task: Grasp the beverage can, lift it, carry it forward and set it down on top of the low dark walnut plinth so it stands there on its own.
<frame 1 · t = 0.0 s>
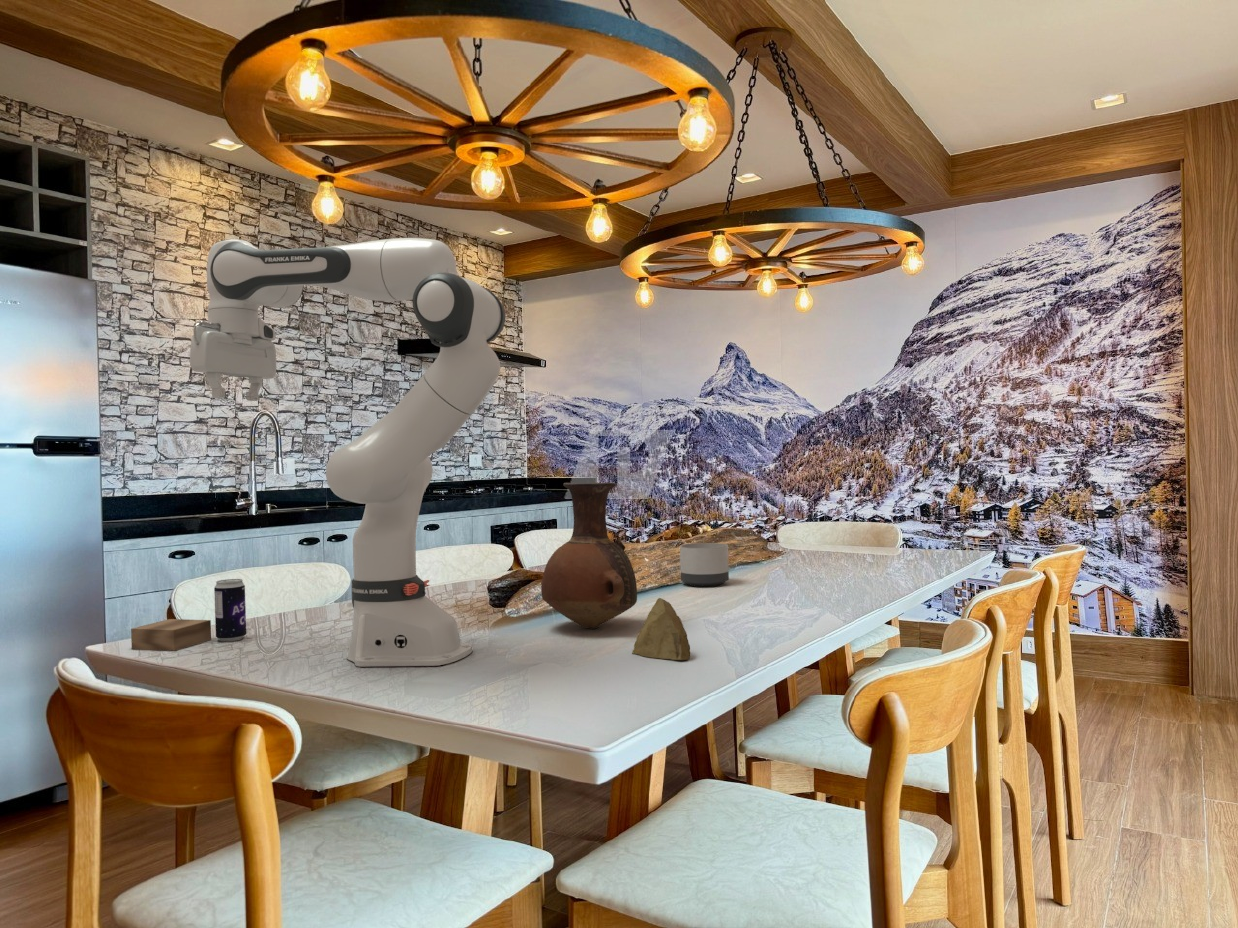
hand: (236, 399, 167), 48 cm above the table, fingers open, 8 cm apart
planter: (704, 585, 234), on the table
rock: (662, 658, 152), on the table
beverage can: (231, 640, 177), on the table
walnut block: (172, 644, 174), on the table
vase: (590, 628, 180), on the table
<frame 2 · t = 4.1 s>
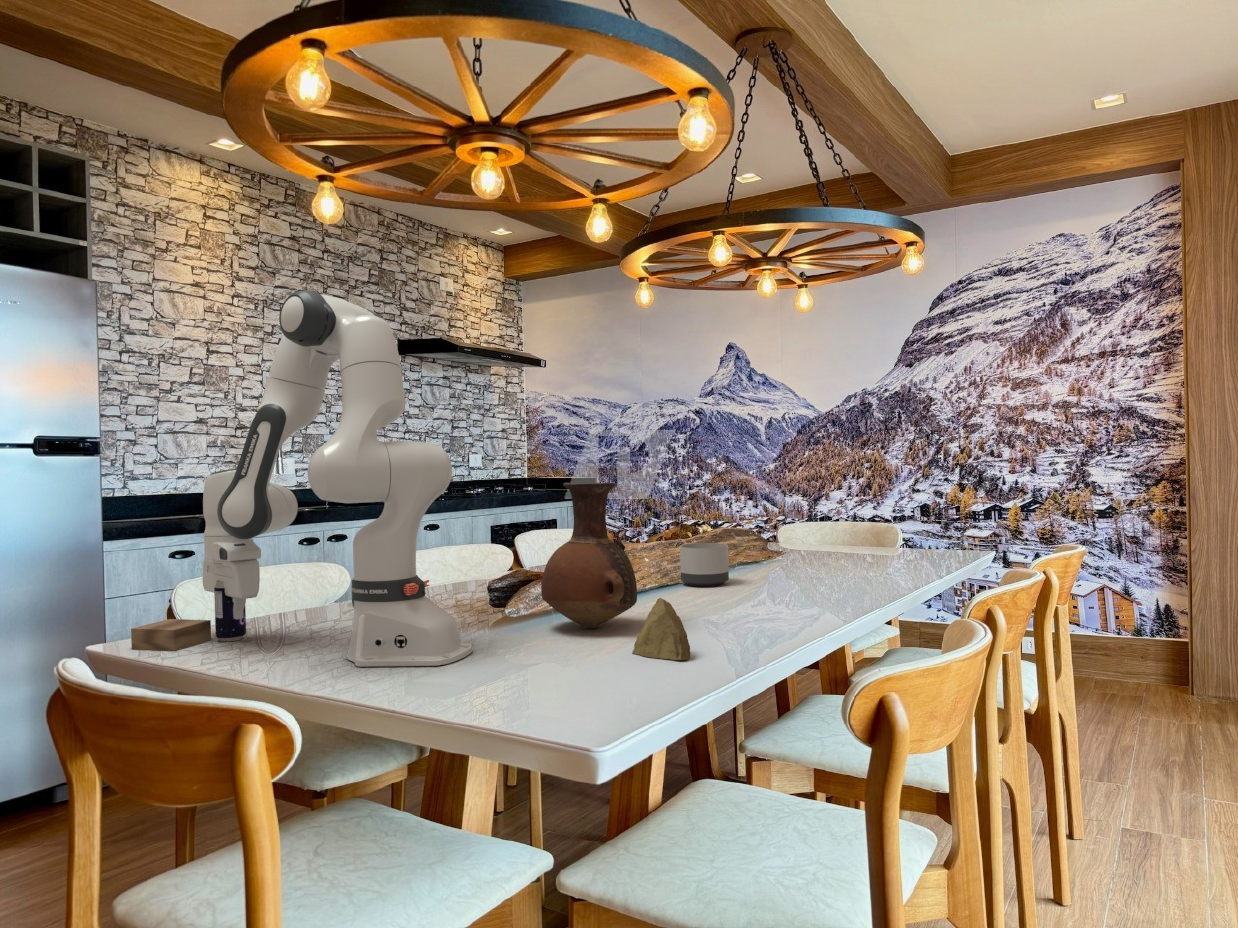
hand: (230, 616, 177), 5 cm above the table, fingers closed on beverage can, 6 cm apart
beverage can: (231, 640, 177), on the table, touching gripper
everything else where it was.
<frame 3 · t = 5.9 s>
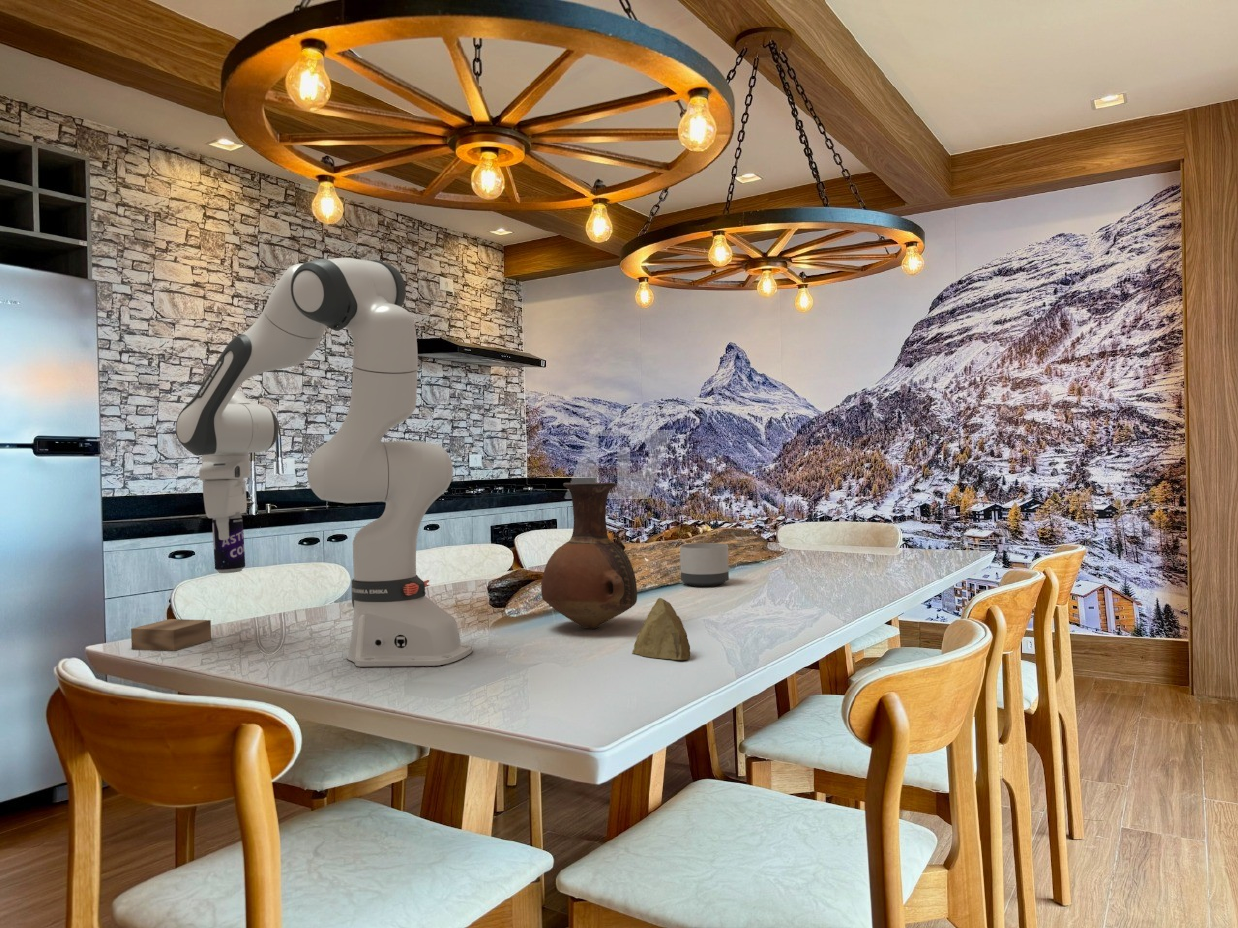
hand: (228, 538, 177), 21 cm above the table, fingers closed on beverage can, 6 cm apart
beverage can: (230, 572, 177), point 14 cm above the table, touching gripper
everything else where it was.
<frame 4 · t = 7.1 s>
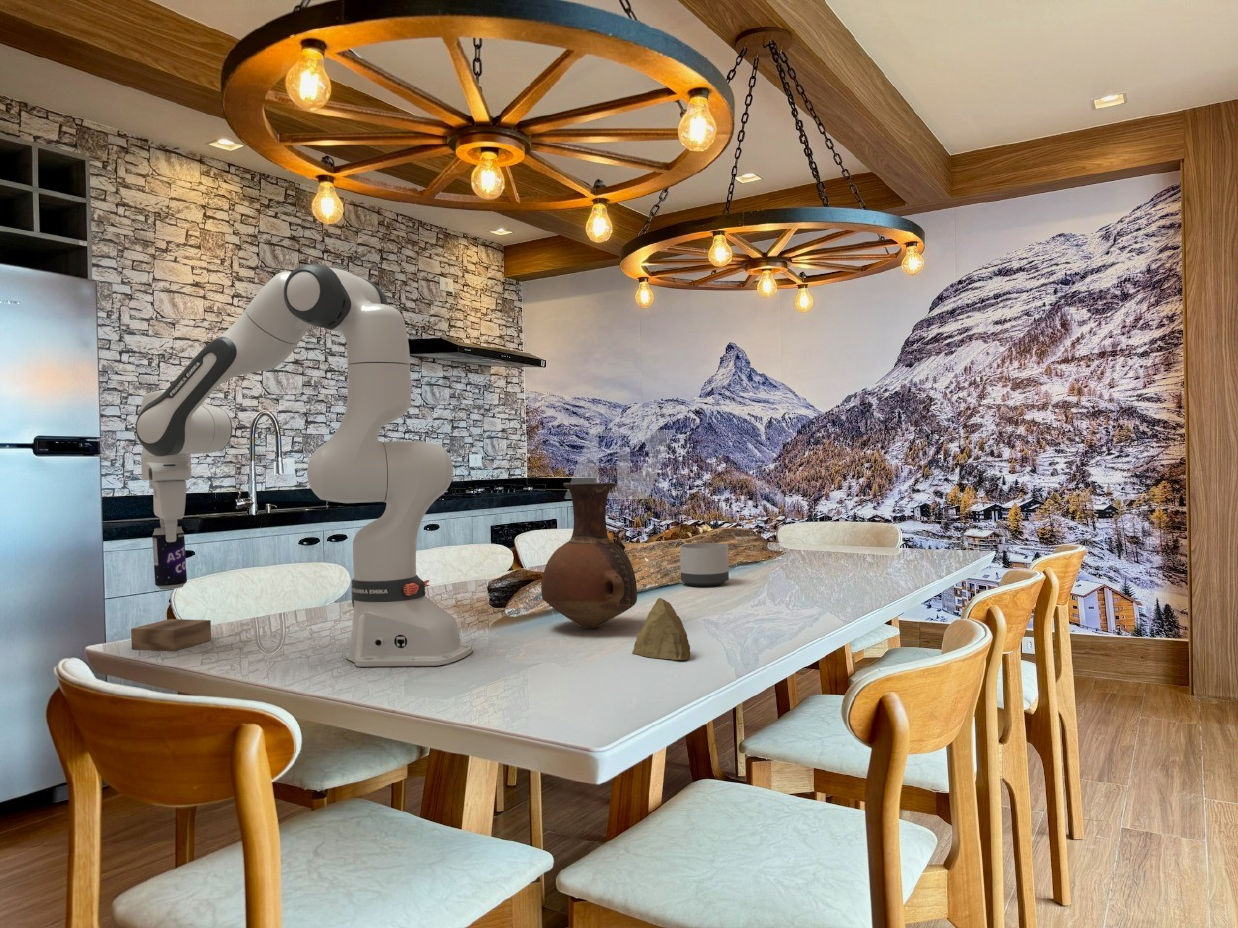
hand: (169, 540, 174), 21 cm above the table, fingers closed on beverage can, 6 cm apart
beverage can: (171, 588, 174), point 11 cm above the table, touching gripper
everything else where it was.
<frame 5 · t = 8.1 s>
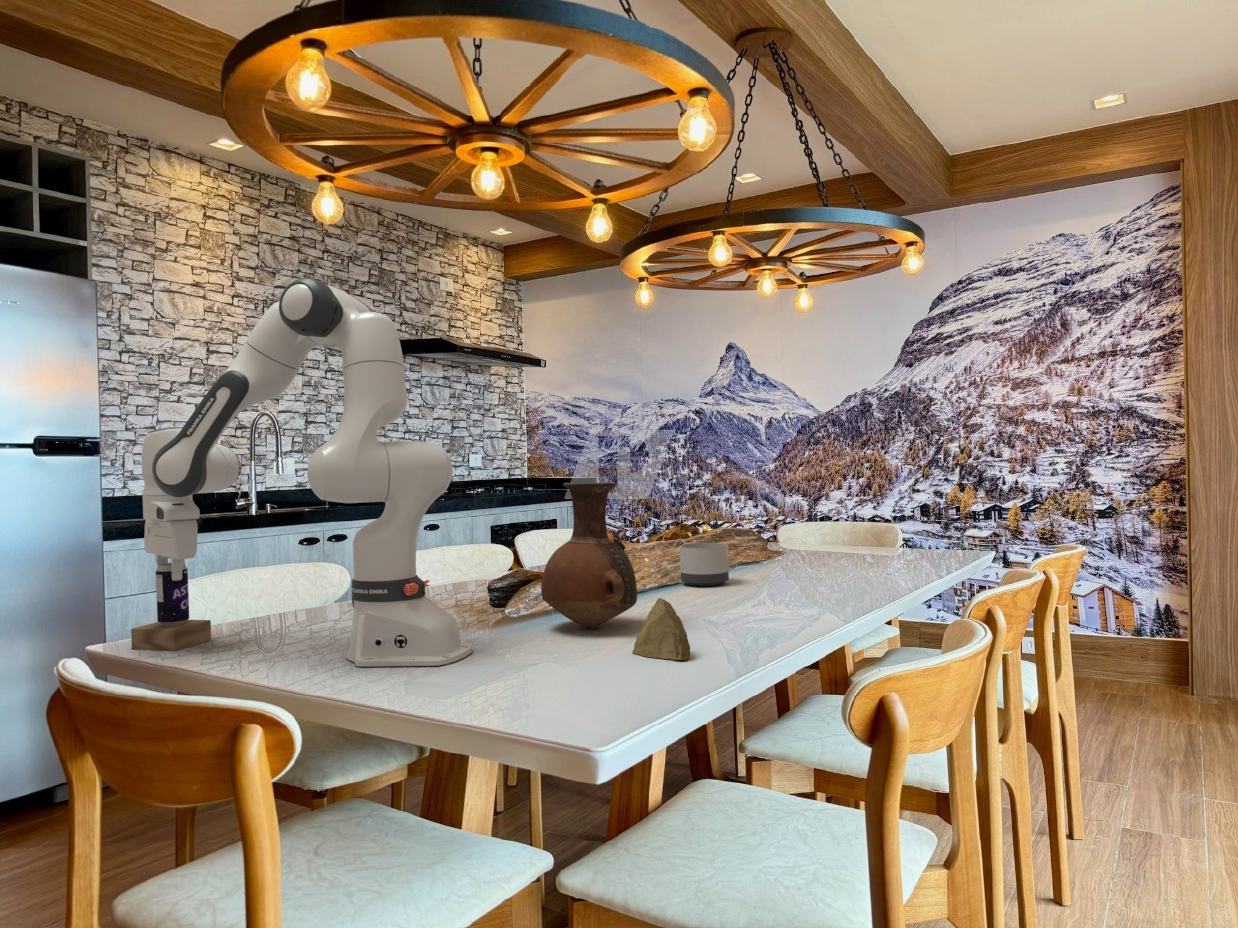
hand: (170, 578, 174), 13 cm above the table, fingers closed on beverage can, 6 cm apart
beverage can: (173, 624, 174), point 4 cm above the table, touching gripper, walnut block
everything else where it was.
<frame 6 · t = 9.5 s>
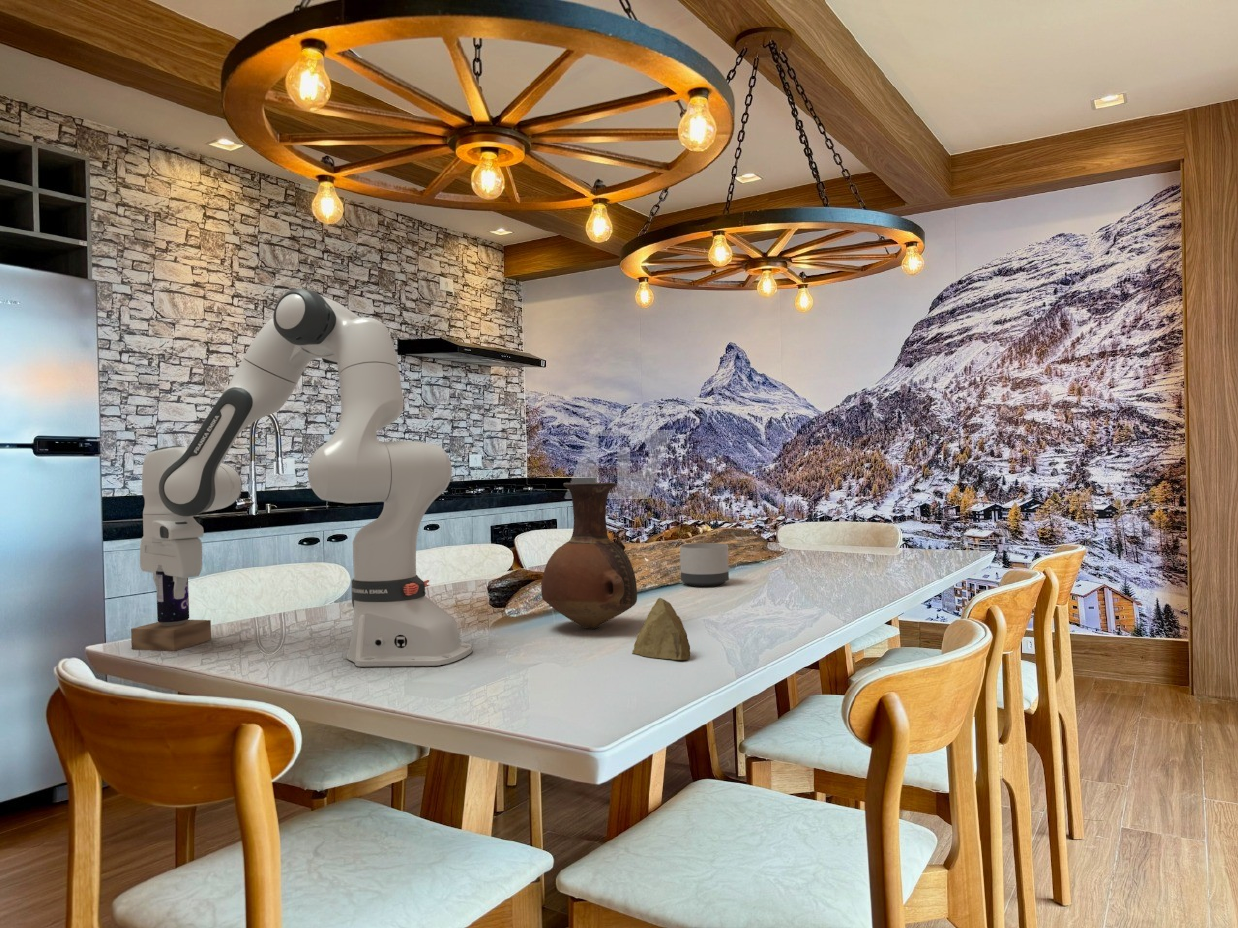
hand: (170, 596, 174), 9 cm above the table, fingers closed on beverage can, 6 cm apart
beverage can: (173, 624, 174), point 4 cm above the table, touching gripper, walnut block
everything else where it was.
when the fingers open (9 cm above the table, at t = 10.0 s): beverage can stays where it is, resting on walnut block.
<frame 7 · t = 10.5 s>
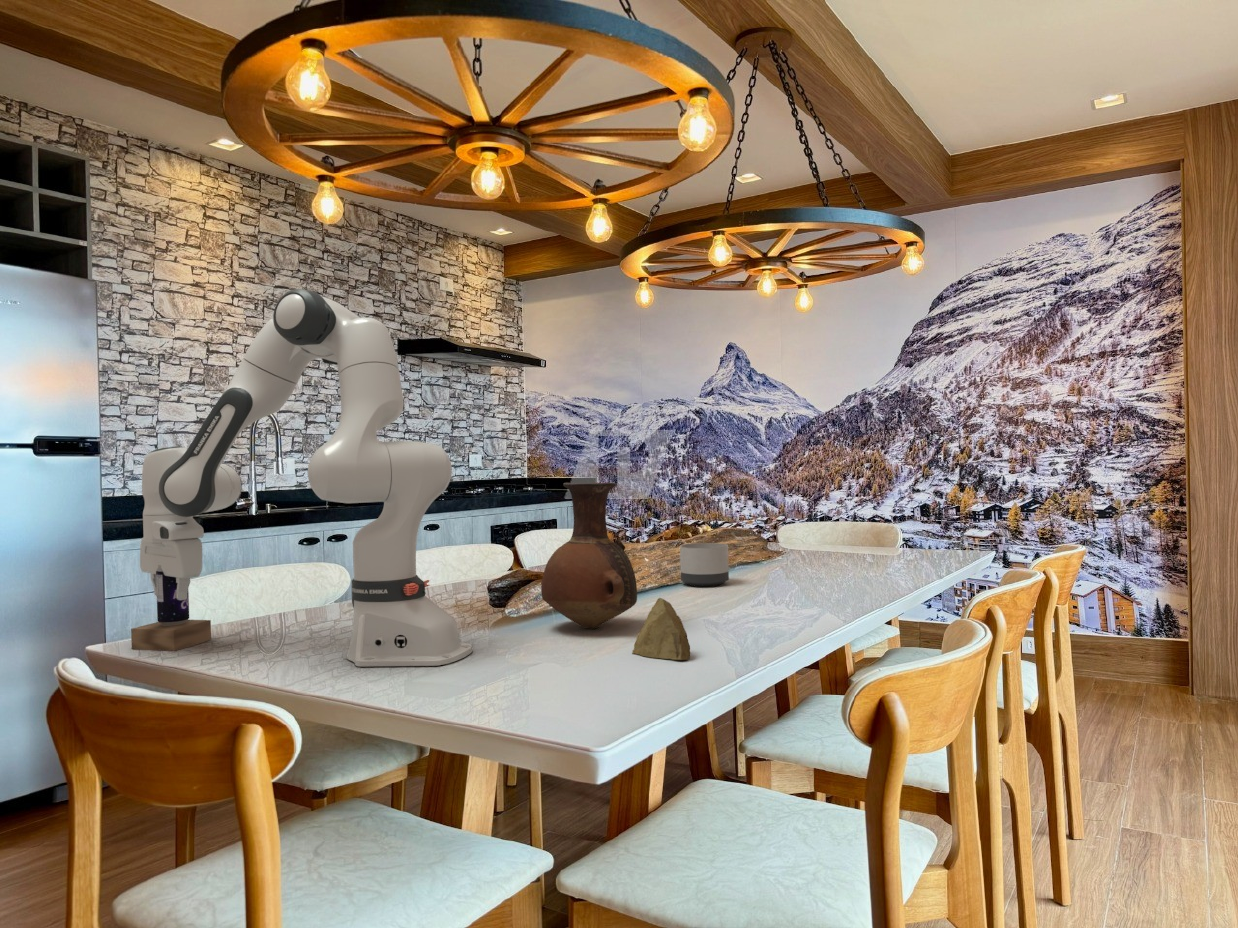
hand: (170, 597, 174), 9 cm above the table, fingers open, 8 cm apart
beverage can: (173, 624, 174), point 4 cm above the table, touching walnut block
everything else where it was.
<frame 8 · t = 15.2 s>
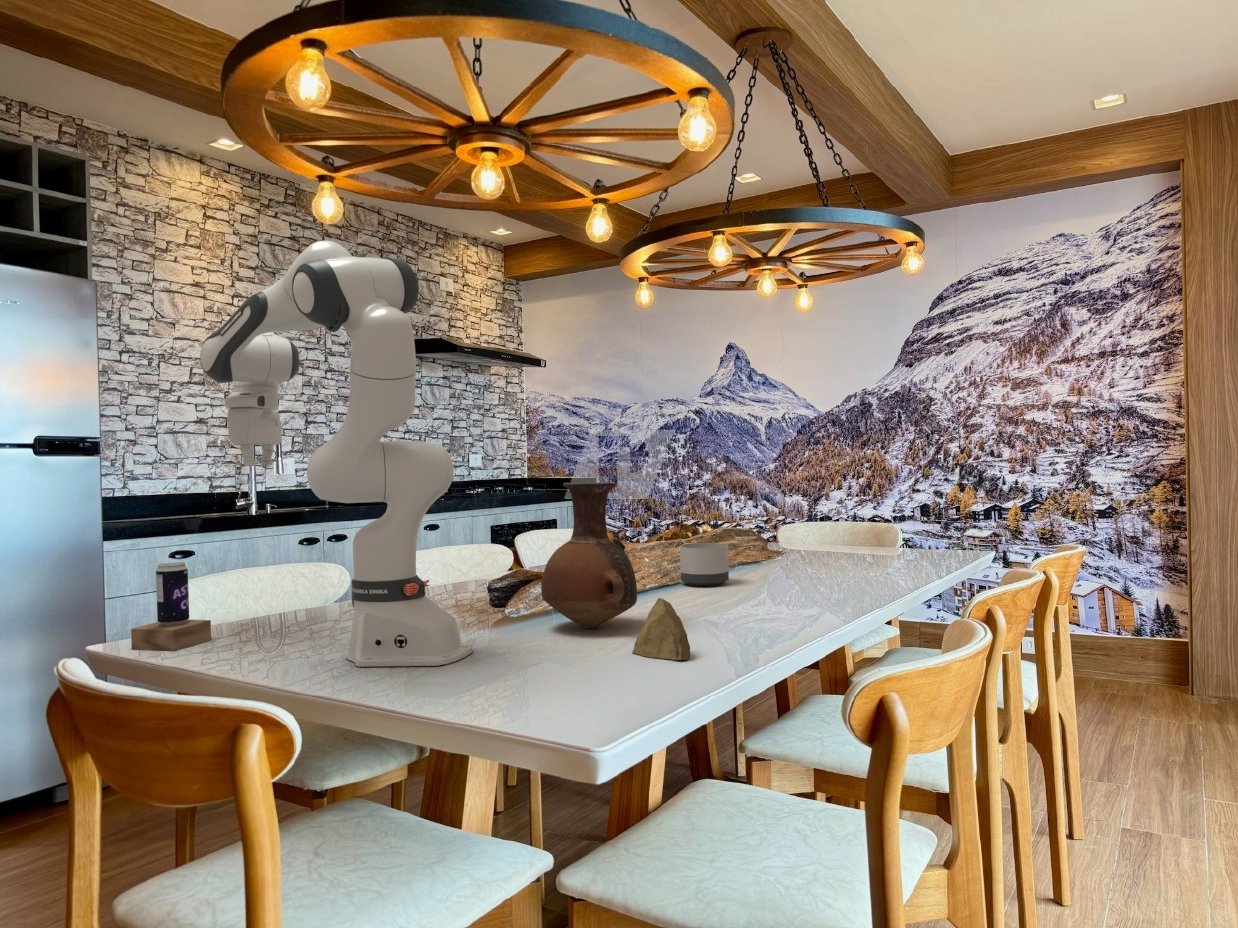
hand: (258, 465, 187), 35 cm above the table, fingers open, 8 cm apart
nothing on the table moved.
at the end: beverage can 0.6 cm from the walnut block (horizontally); beverage can touching walnut block; beverage can tilted 0° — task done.
